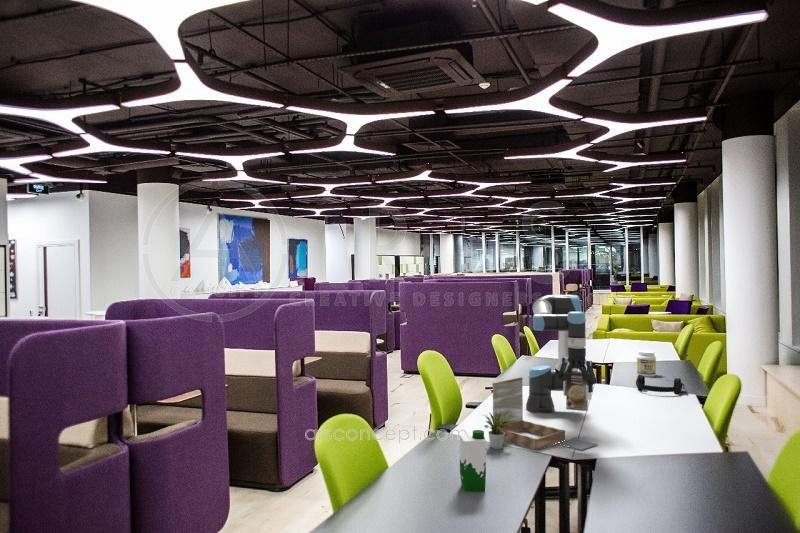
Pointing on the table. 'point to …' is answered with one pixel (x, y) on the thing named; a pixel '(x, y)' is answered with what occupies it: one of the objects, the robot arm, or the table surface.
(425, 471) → the table surface
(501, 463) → the table surface
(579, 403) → the coffee box
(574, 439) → the mat
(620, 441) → the table surface
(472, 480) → the milk carton
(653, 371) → the supplement tub
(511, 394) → the frame
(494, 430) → the house plant
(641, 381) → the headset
